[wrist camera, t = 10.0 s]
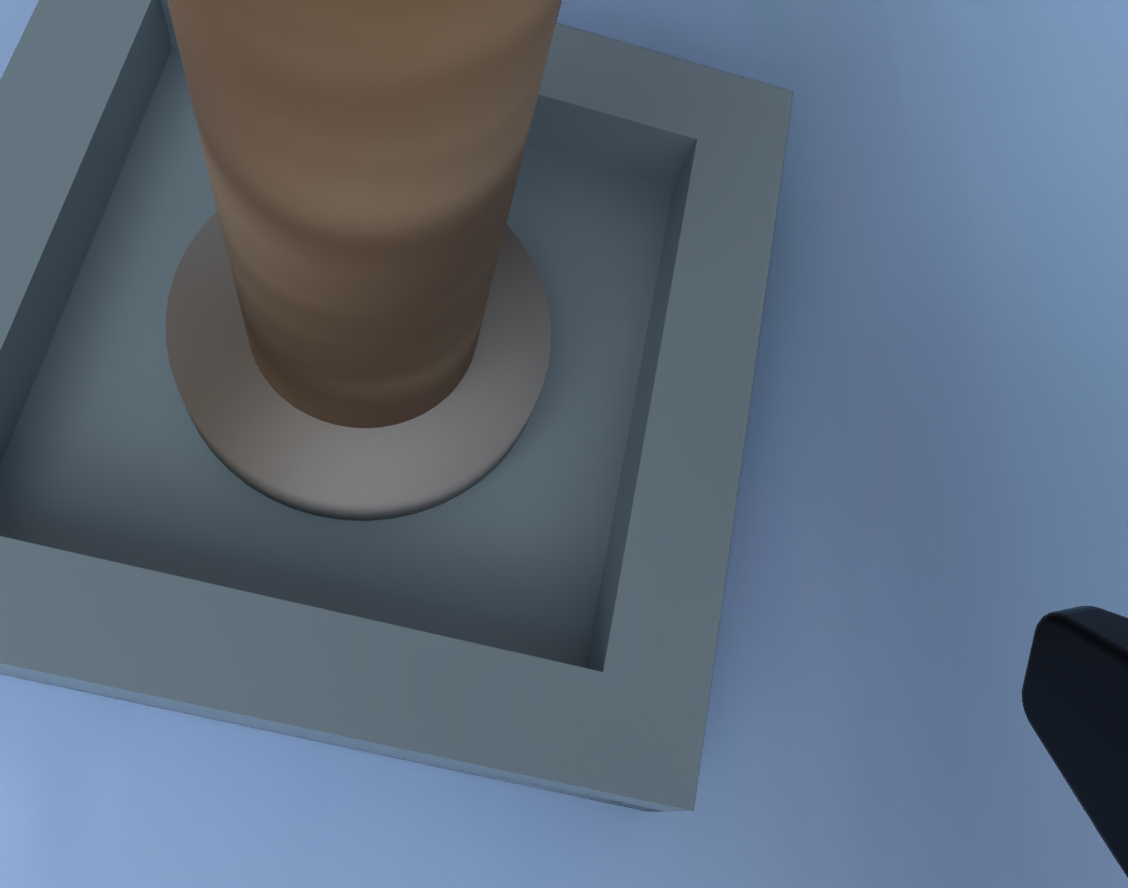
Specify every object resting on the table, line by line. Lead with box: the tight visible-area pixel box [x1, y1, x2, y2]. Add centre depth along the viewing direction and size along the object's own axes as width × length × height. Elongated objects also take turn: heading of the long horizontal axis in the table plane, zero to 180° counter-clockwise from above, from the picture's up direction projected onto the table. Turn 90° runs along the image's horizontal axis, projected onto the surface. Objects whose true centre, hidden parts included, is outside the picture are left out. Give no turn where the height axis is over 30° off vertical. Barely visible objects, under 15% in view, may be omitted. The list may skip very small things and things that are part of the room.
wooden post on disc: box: [165, 0, 561, 521], centre depth 12 cm, size 6×6×13 cm
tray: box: [0, 0, 793, 811], centre depth 17 cm, size 13×13×2 cm
